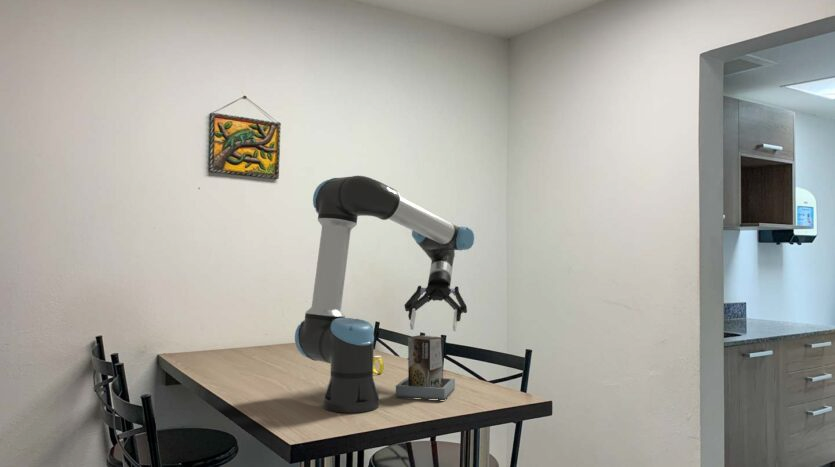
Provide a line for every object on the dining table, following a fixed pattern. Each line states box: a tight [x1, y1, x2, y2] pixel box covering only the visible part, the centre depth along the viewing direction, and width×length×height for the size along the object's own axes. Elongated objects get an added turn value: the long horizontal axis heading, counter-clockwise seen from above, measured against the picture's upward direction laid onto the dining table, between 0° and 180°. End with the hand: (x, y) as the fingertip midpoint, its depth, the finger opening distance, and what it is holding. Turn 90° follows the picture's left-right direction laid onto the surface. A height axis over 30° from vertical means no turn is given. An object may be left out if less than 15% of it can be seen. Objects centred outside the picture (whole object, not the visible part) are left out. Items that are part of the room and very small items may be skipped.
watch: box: [373, 355, 384, 375], centre depth 214 cm, size 6×3×6 cm, turn 37°
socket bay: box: [395, 376, 456, 401], centre depth 183 cm, size 14×14×4 cm
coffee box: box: [407, 334, 444, 388], centre depth 184 cm, size 9×6×16 cm
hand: (432, 327), depth 193 cm, fingers open, 13 cm apart
